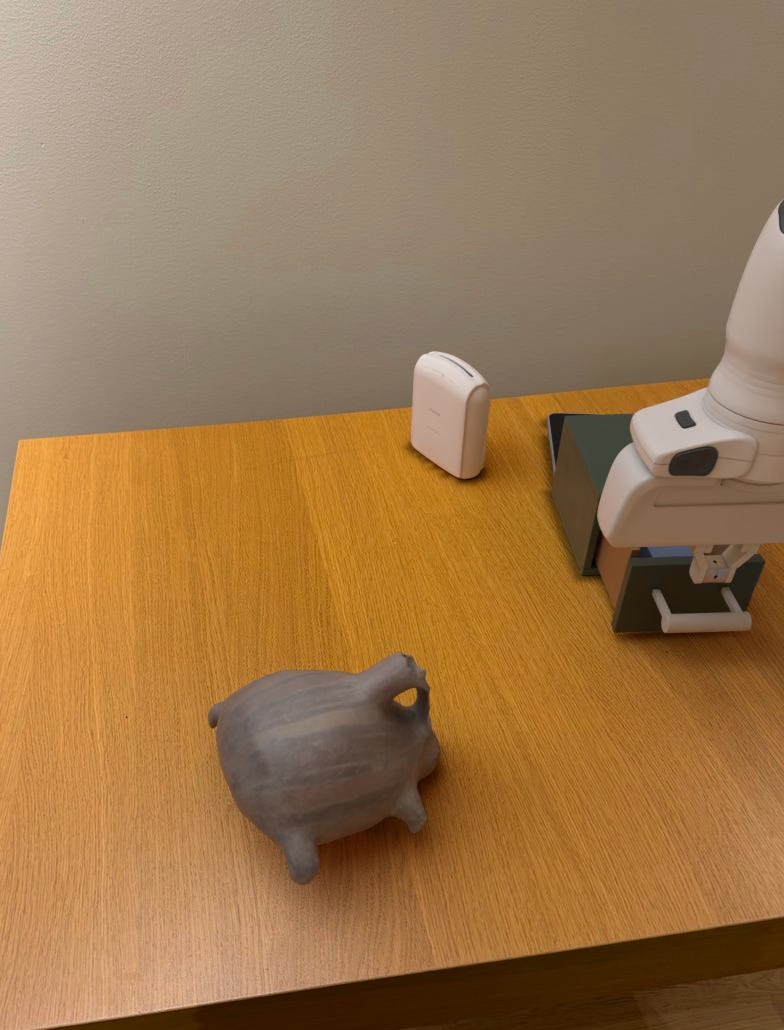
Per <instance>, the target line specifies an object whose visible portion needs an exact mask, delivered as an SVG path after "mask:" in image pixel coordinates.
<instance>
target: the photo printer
mask: <svg viewBox="0 0 784 1030" xmlns="http://www.w3.org/2000/svg"><path fill="white" fill-rule="evenodd" d="M412 384H413V385H412V402H411V404H412V405H411V427H410V443H411V446H412V447H413V448H414V449H415V450H416V451H418V452H419V453H420V454H421V455H423V456H424V457H425V458H427V459H428V460H429V461H431V462H432V463H434V464H435V465H437V466H438V467H439V468H441V469H443V470H444V471H445V472H447V473H449V474H450V475H452V476H454V477H456V478H457V479H461V480H466V479H473V478H475V477H477V476H478V475H479V474H480V473H481V470H482V469H483V468H484V465H485V459H486V458H485V457H486V447H487V440H488V439H487V438H488V430H489V429H488V428H489V419H490V412H491V411H490V410H491V409H490V408H491V399H492V389H491V386H490V384H489V383H488V382H487V380H486V379H485V377H483V375H481V373H480V372H479V371H477V369H475V368H474V367H473V366H472V365H470V364H469V363H468V362H466V361H465V360H463V359H461V358H459V357H457V356H455V355H453V354H451V353H447V352H443V351H430V352H428V353H424V354H422V355H421V356H420V357H419V358H418V360H417V361H416V364H415V366H414V370H413V382H412Z"/></svg>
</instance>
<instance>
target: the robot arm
mask: <svg viewBox="0 0 784 1030" xmlns="http://www.w3.org/2000/svg"><path fill="white" fill-rule="evenodd" d="M634 413H635V414H634ZM634 413H633V414H634V415H633V417H632V419H631V423H630V432H631V436H632V439H633V442H632V443H631V444H629V445H627V446H626V447H625V448H623V449H622V450H621V452H620V453H619V454H618V455H617V457H616V459H615V460H614V462H613V464H612V467H611V469H610V472H609V474H608V477H607V480H606V483H605V485H604V488H603V492H602V495H601V498H600V502H599V506H598V512H597V518H598V523H599V526H600V529H601V531H602V533H603V535H604V537H605V538H606V539H607V541H608V542H609V543H610V544H611V545H612V546H613V547H615V548H627V547H661V546H689V548H690V551H691V553H692V555H693V560H692V563H691V566H690V571H689V572H690V576H691V578H692V580H693V582H694V583H695V584H696V583H730V582H731V581H732V579H733V576H734V574H735V571H736V568H739V567H740V566H741V565H742V564H743V563H745V562H746V561H747V560H748V559H750V558H751V557H752V556H753V555H754V554H758V551H759V549H760V547H761V545H762V544H763V545H764V544H765V545H766V544H784V198H783V199H782V200H781V201H779V203H778V204H777V205H776V207H775V208H774V209H773V211H772V212H771V214H770V216H769V217H768V219H767V221H766V222H765V224H764V226H763V228H762V229H761V231H760V234H759V236H758V237H757V240H756V242H755V244H754V247H753V248H752V251H751V253H750V255H749V257H748V260H747V262H746V265H745V268H744V270H743V272H742V276H741V278H740V281H739V284H738V287H737V289H736V293H735V295H734V299H733V302H732V305H731V308H730V311H729V314H728V318H727V321H726V326H725V347H724V352H723V356H722V357H721V359H720V361H719V363H718V364H717V366H716V368H715V369H714V371H713V373H712V374H711V376H710V379H709V382H708V385H707V386H706V387H703V388H700V389H698V390H696V391H693V392H690V393H688V394H686V395H682V396H680V397H677V398H674V399H671V400H668V401H664V402H661V403H657V404H654V405H650V406H647V407H645V408H642V409H639V410H638V411H635V412H634ZM714 545H730V546H729V547H728V548H727V549H726V550H725V551H724V552H723V553H722V554H721V555H704V552H705V553H711V552H712V549H713V546H714Z"/></svg>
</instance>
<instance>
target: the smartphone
mask: <svg viewBox="0 0 784 1030" xmlns="http://www.w3.org/2000/svg"><path fill="white" fill-rule="evenodd" d="M576 415H604V414H603V413H602V414H601V413H583V412H582V413H581V412H551V413H549V414H548V415H547V421H546V425H547V431H548V440H549V447H550V456H551V464H552V471H553V473H552V474H553V475H554V474H555V468H556V462H557V457H558V451H559V446H560V440H561V435H562V429H563V424H564V418H565V416H576Z"/></svg>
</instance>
